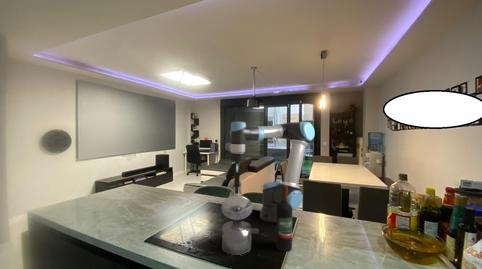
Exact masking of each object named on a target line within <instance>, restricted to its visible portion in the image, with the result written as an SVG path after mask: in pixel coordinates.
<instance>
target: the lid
mask: <svg viewBox="0 0 482 269" xmlns="http://www.w3.org/2000/svg"><path fill="white" fill-rule="evenodd" d="M221 212H222V213H223V216H224V217H226V218H228V219H231V220H232V221H241V220H243V219H246V218H247V217H249V216H250V215H251V214H252V212H253V203H252V201H251V200H250V199H249V198H248V197H246V196H244V195H240V194H239V195H234V194H233V195H230V196H229V197H228V196H227V197H226V198H225V199H224V200H223V202H222V204H221Z"/></svg>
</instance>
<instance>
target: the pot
mask: <svg viewBox="0 0 482 269" xmlns="http://www.w3.org/2000/svg"><path fill="white" fill-rule="evenodd" d="M214 228H215V229H214V234H221V237H222V238H221V239H222V240H221V249H222V251H223V253H225V252H226V253H228V254H227V255H229V254H231V255H230V256H233V255H240V256H243V255H242V254H244V255H246V254H245V253H247V252H248V253H250V252H251V250H252V234H257V235H258V234H260V230H259V228H258V227H256V228H255V227H252V225H251V224H250V223H249V222H247V221H244V220H243V221H241V220H230V221H227V222H225V223H224V224H222V228H221V227H217V228H216V227H214ZM226 253H225V254H226ZM248 253H247V254H248Z"/></svg>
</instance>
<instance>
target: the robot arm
mask: <svg viewBox="0 0 482 269" xmlns="http://www.w3.org/2000/svg"><path fill="white" fill-rule="evenodd" d="M229 135H230V145H229V146H228V148H229V149H230V150H229V151H230V154H229V160H230V161H232V162H234V163H233V166H232V167H233V174H234V179H233V180H234V184H233V185H232V188H233V196H234V195H240V187H241V186H242V184H241V183H240V175H241V172H242V171H241V169H242V163H240V162H243V161H245V160H246V141H248V142H249V141H250V142H259V141H263V139H270V138H271V139H272V138H273V139H274V138H275V139H283V140H289V142H290V143H291V146H290V151H289V155H288V160H287V164H286V170H285V175H284V179H283V182H280V181H279V182H278V181H272V182H271V181H269V182H264V183H263V185H262V207H261V210H260V212H259V218H260V220H262V221H264V222H267V223H276V212H277V205H278V204H279V203H281V201H282V185H287V186H288V193H287V201H288V203H289V204H290V205H291V207H292V211H295V210H297V209H298V208H299V207H300V206H301V204H302V202H303V193H302V192H301V187H300V185H299V183H300V182H299V181H300V176H301V171H302V167H303V163H304V162H303V161H304V156H305V150H306V147H307V146H309V143H310V141H312V140H313V139H315V128H314V126H313V124H311V122H308V121H296V122H294V121H293V122H284V123H281V124H279V123H278V124H275V125H264V126H263V125H262V126H261V125H260V126H259V125H257V126H251V125H250V126H247V123H246V122H245V121H232V122H231V123H230V131H229Z"/></svg>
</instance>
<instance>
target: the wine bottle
mask: <svg viewBox="0 0 482 269" xmlns="http://www.w3.org/2000/svg"><path fill="white" fill-rule="evenodd" d="M287 193H288V186H287V185H282V201H281V203H279V204H278V205H277V212H276V222H275V224H276V227H275V229H276V230H275V232H276V233H275V248H276V249H277V250H278V251H281V252H283V251H285V252H291V251H292V250H293V210H292V207H291V205H290V204H289V203H288V201H287ZM285 252H284V253H285Z"/></svg>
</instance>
